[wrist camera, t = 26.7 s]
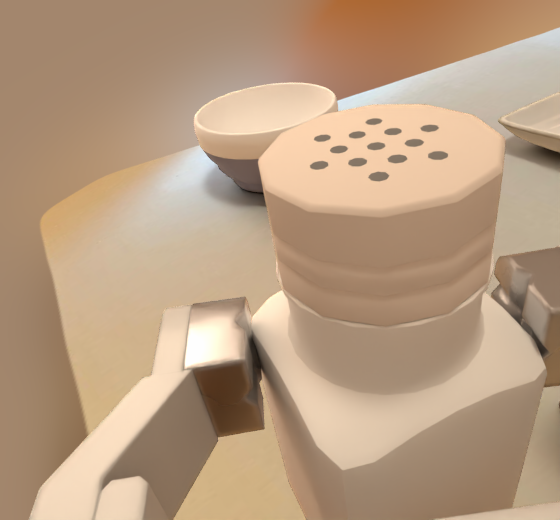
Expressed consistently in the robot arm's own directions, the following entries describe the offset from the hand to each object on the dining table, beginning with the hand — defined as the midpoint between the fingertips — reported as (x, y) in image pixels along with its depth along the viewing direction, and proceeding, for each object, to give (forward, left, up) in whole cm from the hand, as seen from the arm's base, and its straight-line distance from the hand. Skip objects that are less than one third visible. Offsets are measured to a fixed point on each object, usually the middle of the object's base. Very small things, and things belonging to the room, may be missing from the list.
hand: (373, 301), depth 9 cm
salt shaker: (-1, 0, -6) cm, 6 cm away
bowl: (+42, -1, -18) cm, 45 cm away
